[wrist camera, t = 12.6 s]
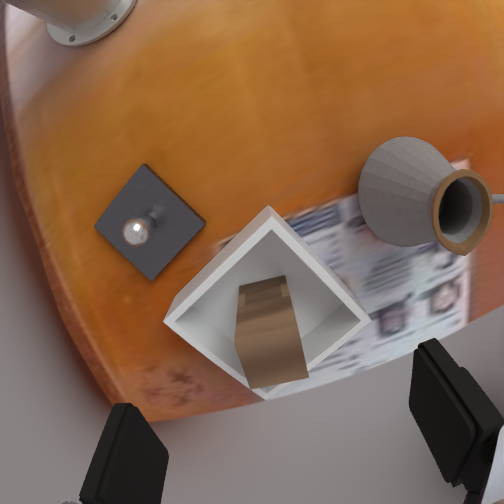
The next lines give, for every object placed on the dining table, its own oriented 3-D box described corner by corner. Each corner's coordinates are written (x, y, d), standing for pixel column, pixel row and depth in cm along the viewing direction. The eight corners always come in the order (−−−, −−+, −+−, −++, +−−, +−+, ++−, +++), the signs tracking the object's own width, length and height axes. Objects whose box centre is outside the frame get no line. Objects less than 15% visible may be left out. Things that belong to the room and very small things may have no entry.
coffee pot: (355, 247, 34) (416, 311, 20) (341, 142, 30) (408, 138, 16) (496, 219, 33) (575, 254, 18) (491, 132, 29) (578, 138, 15)
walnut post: (239, 285, 34) (233, 343, 24) (285, 274, 34) (298, 329, 23) (250, 324, 36) (250, 389, 25) (294, 314, 35) (308, 377, 25)
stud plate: (97, 224, 33) (74, 236, 28) (145, 163, 31) (126, 166, 26) (153, 277, 35) (138, 298, 30) (206, 221, 33) (198, 235, 28)
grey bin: (175, 295, 36) (162, 321, 30) (268, 204, 33) (271, 216, 27) (264, 368, 39) (266, 400, 33) (355, 295, 36) (371, 320, 30)
